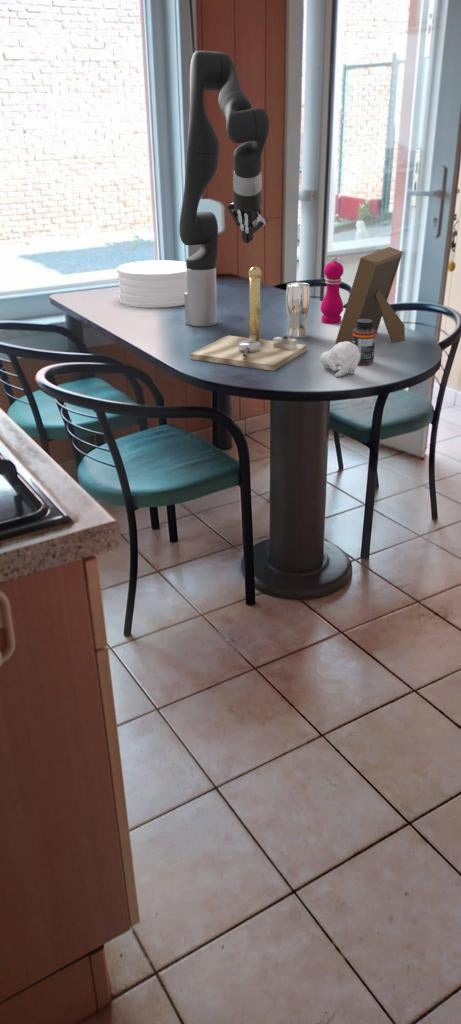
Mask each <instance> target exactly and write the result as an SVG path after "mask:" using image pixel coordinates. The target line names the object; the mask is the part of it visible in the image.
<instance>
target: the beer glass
mask: <svg viewBox="0 0 461 1024" xmlns="http://www.w3.org/2000/svg"><path fill="white" fill-rule="evenodd" d="M285 291H286V292H285V307H286V315H287V322H288V323H287V325H288V326H287V330H286V336H287V337H288V338H292V339H301V338H306V337H307V336H308V333H307V320H308V319H307V318H308V314H309V309H310V300H311V293H310V283H308V282H298V281H297V282H296V281H295V282H290V283H287V284H286V290H285Z"/></svg>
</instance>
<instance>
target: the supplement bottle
mask: <svg viewBox="0 0 461 1024" xmlns="http://www.w3.org/2000/svg"><path fill="white" fill-rule="evenodd" d="M372 325H373V321H372V320H370V319H359V320H357V326H356V328H354V330H353V336H352V343H353V344H355V345H356V346H357V347H358V350H359V352H360V354H361V356H360V359H359V363H358V365H357V366H370V365H371V364H373V363H374V359H375V349H376V348H375V345H376V334H377V333H376V331H375V329H374V328H372Z"/></svg>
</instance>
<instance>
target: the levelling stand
mask: <svg viewBox="0 0 461 1024" xmlns="http://www.w3.org/2000/svg"><path fill="white" fill-rule="evenodd" d="M297 339H298V338H291V337H288V336H287V335H283V336H282V337H280V336H275V337H274V338H273V339H272V340H267V339H263V338H262V339H261V338H260V340H258V342H260V351H258V352H252V353H248V354H247V356H246V357H243V353H244V352H241V351H239V349H238V343H239V342H241V341H246V340H249V337H246V336H245V337H244V336H237V335H236V336H235V335H225V336H223V337H221V338H220V339H217V340H216V341H213V342H211V343H209V344H207V345H205V346H203V347H201V348H199V349H197V350H195V351H193V352H191V353H189V356H190V357H189V359H190V360H193V361H194V360H195V361H203V362H208V363H216V364H221V365H222V364H224V365H230V366H231V365H232V366H237V367H244V368H251V369H259V370H266V371H273V372H275V371H277V370H278V369H279V368H281V367H282V366H284V365H286V364H287V363H289V362H290V361H292V360H293V359H295V358H296V357H298V356H300V355H302V354H303V353H305V352H306V351H308V350H307V346H308V345H307V344H302V343H300V344H299V343H298V342H297V341H298V340H297Z"/></svg>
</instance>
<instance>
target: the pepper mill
mask: <svg viewBox="0 0 461 1024" xmlns="http://www.w3.org/2000/svg"><path fill="white" fill-rule="evenodd" d="M323 274H324V275H325V277H326V278H325V279H324V280H325V284H326V292H325V294H324V297H323V299H322V301H321V304H320V312H321V313H322V314H323V315H321V320H320V321H321V323H323V324H326V323H327V324H328V325H337V324H341V323H342V316H341V314H342V313H343V312H344V302H343V300H342V297H341V295H340V294H341V293H340V284H341V283H342V278H341V277H342V276H343V274H344V266H343V264H342V263H341V262H338V258H337V257H336V256H333V257H332V258H331V261H330V262H328V263H327V264H326V265H325V266H324V269H323Z"/></svg>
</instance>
